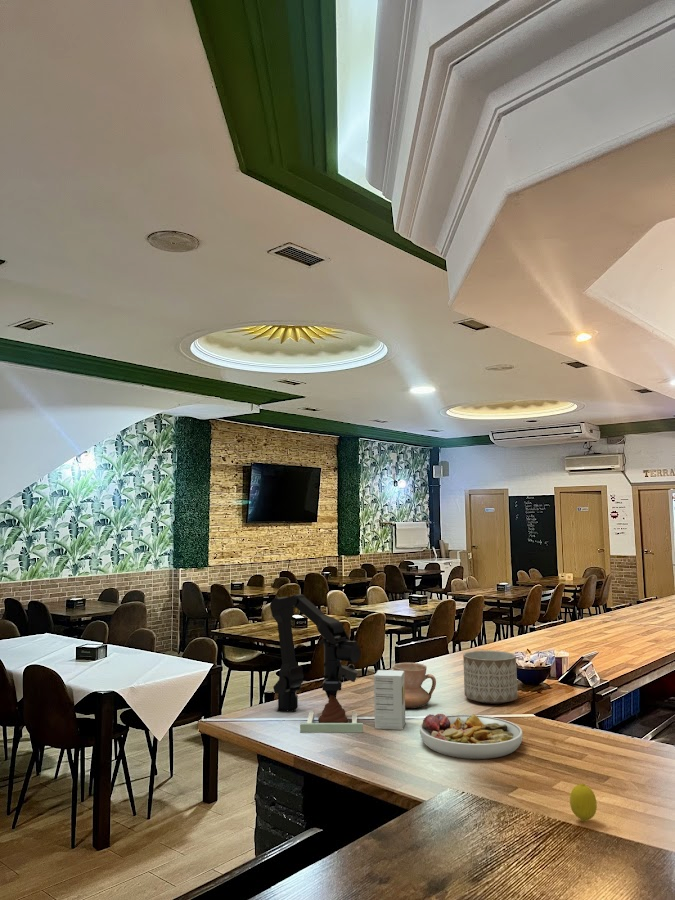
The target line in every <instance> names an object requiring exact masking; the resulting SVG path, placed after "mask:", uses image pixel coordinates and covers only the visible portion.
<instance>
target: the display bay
mask: <svg viewBox="0 0 675 900" xmlns="http://www.w3.org/2000/svg"><path fill="white" fill-rule="evenodd" d="M357 713H358V712H357V711H352V712H351V715H352V716H351V722H348V723H319V722H315V712H314V711H309V714H308V716H307V721H306V722H300V724H299V729H300V730H299V732H300V734H301V733H303V734H304V733H305V734H306V733H310V734H311V733H323V734H324V733H331V734H332V733H335V734H336V733H364V722H358V719H357V718H358V714H357Z"/></svg>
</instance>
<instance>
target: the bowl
mask: <svg viewBox="0 0 675 900" xmlns="http://www.w3.org/2000/svg"><path fill="white" fill-rule="evenodd" d="M419 734H420V738H421V741H422V742H423V743H424V744H425V746H427V748H429V749H430V750H433V751H434V752H435V753H438V754H442V755H444V756H447V757H453V758H458V759H465V760H466V759H467V760H469V759H470V760H486V759H487V760H488V759H496V758H500V757H504V756H507V755H509V754H512V753H514V752H516V750H517V749H518V748H519V747H520V746H521V744H522V741H523V729H522V728H521V727H520V726H519V725H518V724H516V723H513V722H511V721H508V720H505V719H502V718H498V717H492V716H485V715H478V714H477V715H476V714H451V715H446V714H443V713H437V714H428V715H427V716H425V717H424V718H423V719H422V723H421V724H420V725H419Z"/></svg>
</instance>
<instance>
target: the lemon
mask: <svg viewBox="0 0 675 900" xmlns="http://www.w3.org/2000/svg"><path fill="white" fill-rule="evenodd" d="M569 795H570V796H569V803H570V809H571V811H572V813H573V814H574V815H575V817H577V818H578V819H579V820H581V821H582V822H584V823H586V822H587V821H588V820H591V819H592V818H594V816H595V815H596V813H597V807H598V806H597V805H598V804H597V799H596V795H595V793H594V791H593V789H592V788H590V787H589V786H588V785H586V784H585V783H583V782H582V783H580V784H577V785H575V786H574V787H573V788H572V789H571V791H570V794H569Z"/></svg>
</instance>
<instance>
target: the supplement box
mask: <svg viewBox="0 0 675 900" xmlns="http://www.w3.org/2000/svg"><path fill="white" fill-rule="evenodd" d="M373 693H374V694H373V696H374V699H373V700H374V707H373V708H374V709H373V710H374V729H375V730H376V729H378V730H397V731H398V730H399V731H403V729H404V727H405V724H406V708H405V680H404V671H397V670H391V669H389V670H387V669H386V670H385V669H378V670H376V673H375V674H374V675H373Z"/></svg>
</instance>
